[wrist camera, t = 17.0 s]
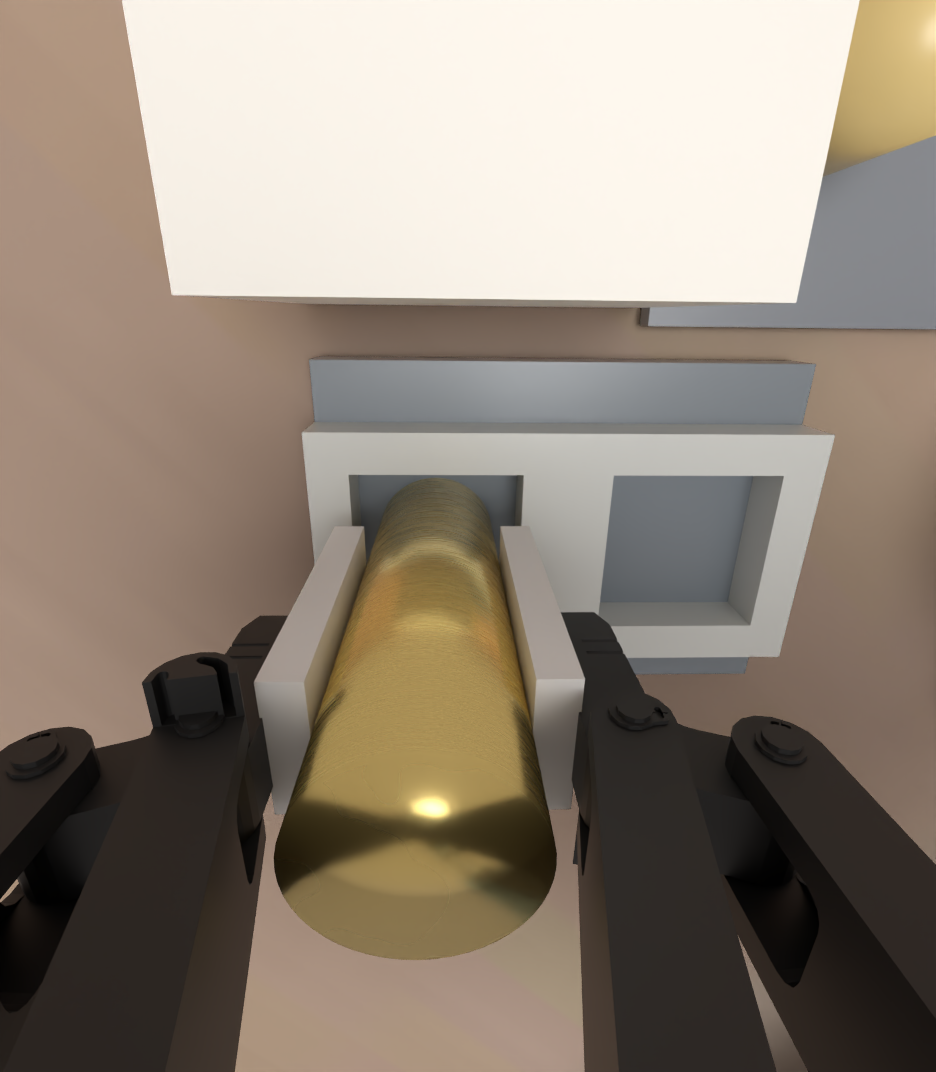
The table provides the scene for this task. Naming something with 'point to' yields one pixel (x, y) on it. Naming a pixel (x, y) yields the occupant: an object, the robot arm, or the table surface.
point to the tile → (865, 192)
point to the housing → (488, 147)
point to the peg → (421, 752)
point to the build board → (641, 506)
